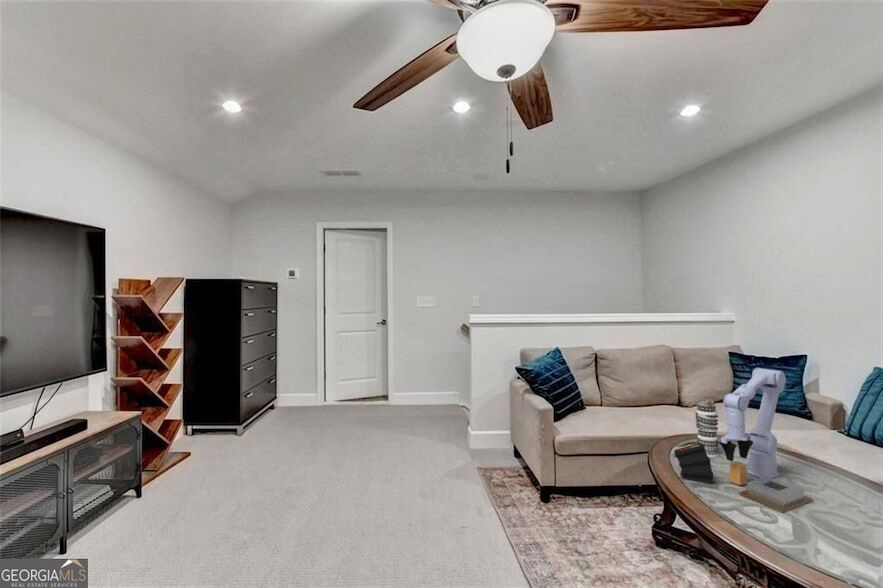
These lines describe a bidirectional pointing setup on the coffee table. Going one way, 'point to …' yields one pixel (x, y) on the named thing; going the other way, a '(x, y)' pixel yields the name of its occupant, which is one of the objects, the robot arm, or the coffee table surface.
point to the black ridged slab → (695, 463)
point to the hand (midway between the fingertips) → (736, 458)
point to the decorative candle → (707, 426)
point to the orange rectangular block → (738, 473)
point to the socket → (775, 494)
